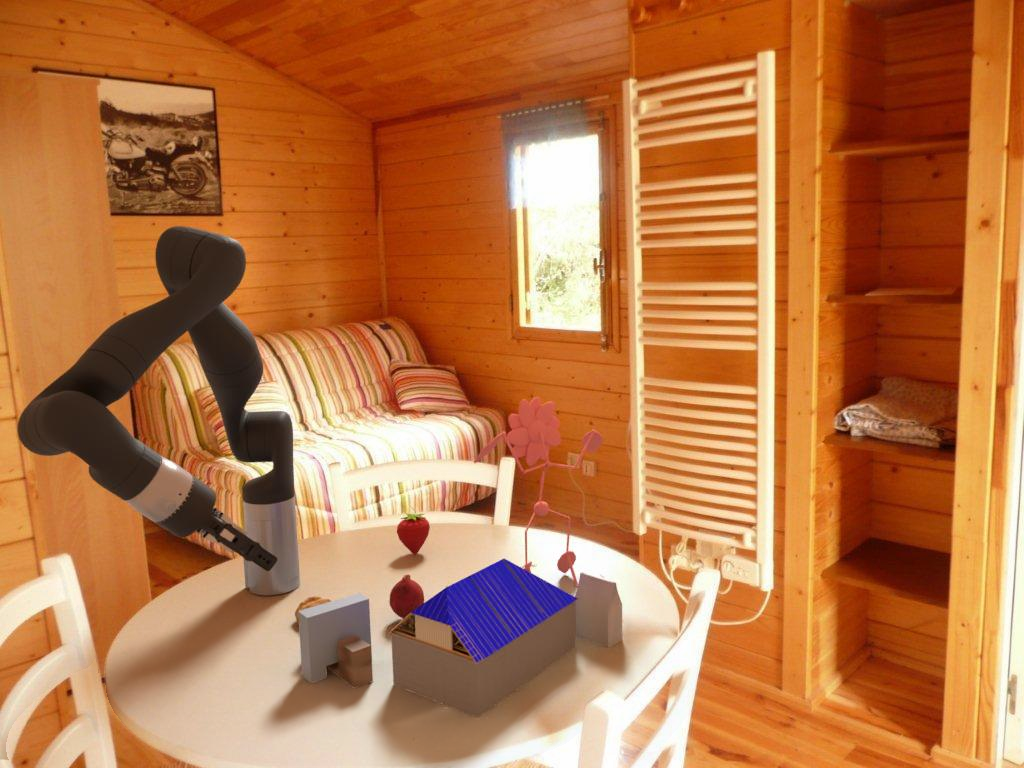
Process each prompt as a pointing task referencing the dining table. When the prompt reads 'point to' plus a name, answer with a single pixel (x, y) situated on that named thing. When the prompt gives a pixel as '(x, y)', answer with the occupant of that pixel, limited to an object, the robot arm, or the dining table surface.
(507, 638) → the house
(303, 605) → the pastry
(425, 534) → the strawberry
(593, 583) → the grey house-shaped block
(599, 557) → the dining table surface
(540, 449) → the figurine
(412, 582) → the onion
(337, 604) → the grey notched square slab
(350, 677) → the walnut blocks
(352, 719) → the dining table surface
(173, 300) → the robot arm
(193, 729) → the dining table surface
